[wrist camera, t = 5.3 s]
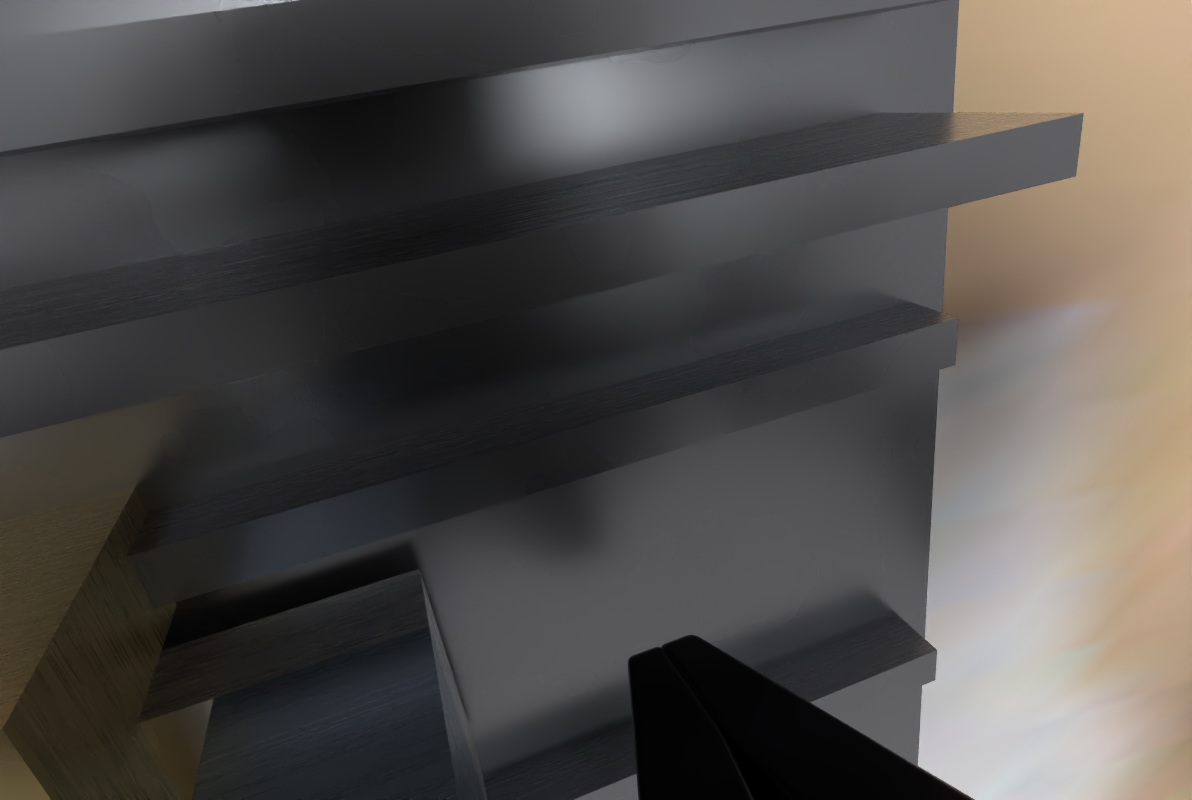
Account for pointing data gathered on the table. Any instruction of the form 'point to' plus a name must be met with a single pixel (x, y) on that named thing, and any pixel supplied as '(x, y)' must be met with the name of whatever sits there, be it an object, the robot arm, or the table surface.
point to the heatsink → (477, 350)
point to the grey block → (317, 705)
